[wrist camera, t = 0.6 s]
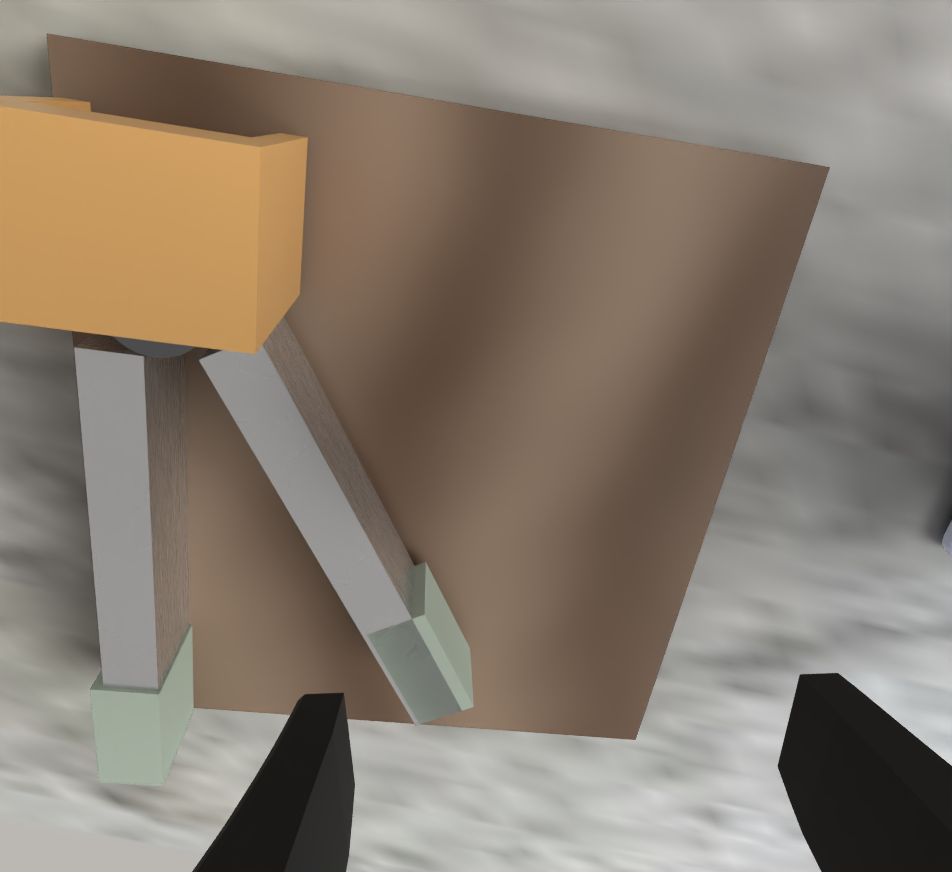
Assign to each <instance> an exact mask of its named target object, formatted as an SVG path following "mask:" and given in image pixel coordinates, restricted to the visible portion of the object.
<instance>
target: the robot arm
mask: <svg viewBox="0 0 952 872" xmlns="http://www.w3.org/2000/svg"><path fill="white" fill-rule="evenodd" d="M942 545H943V548H944V549H945V550H946V551H947V552H948V553H949V554H950V555H951V556H952V520H951V522H950V524H949V526H948V528H947V530H946V532H945V534H944V536H943V540H942ZM778 769H779V771H780V774H781V777H782V780H783V783H784V785H785V788H786V791H787V794H788V797H789V799H790V802H791V805H792V807H793V810H794V813H795V815H796V818H797V820H798V823H799V825H800V828H801V831H802V833H803V835H804V837H805V839H806V841H807V843H808V845H809V848H810V850H811V852H812V854H813V856H814V858H815V860H816V862H817V864H818V866H819V868H820V870H821V871H822V872H952V766H951V765H950V764H949V763H947V762H946V761H945V760H944V759H942V758H941V757H940V756H939V755H938V754H936V753H935V752H934V751H933V750H931V749H930V748H929V747H928V746H926V745H925V744H924V743H923V742H922V741H920V740H919V739H918V738H917V737H916V736H914V735H913V734H912V733H911V732H909V731H908V730H907V729H906V728H905V727H903V726H902V725H901V724H900V723H899V722H897V721H896V720H895V719H894V718H892V717H891V716H890V715H889V714H888V713H886V712H885V711H884V710H883V709H882V708H880V707H879V706H878V705H877V704H876V703H874V702H873V701H872V700H871V699H869V698H868V697H867V696H866V695H865V694H863V693H862V692H861V691H860V690H858V689H857V688H856V687H855V686H854V685H852V684H851V683H850V682H849V681H847V680H846V679H845V678H843V677H842V676H841V675H840V674H838V673H826V674H801V675H800V676H799V680H798V685H797V689H796V693H795V697H794V701H793V705H792V709H791V713H790V717H789V722H788V726H787V730H786V734H785V738H784V742H783V746H782V750H781V754H780V759H779V763H778ZM354 789H355V782H354V773H353V765H352V756H351V748H350V740H349V731H348V723H347V714H346V706H345V697H344V693H319V694H304V695H303V696H302V697H301V698H300V699H299V700H298V701H297V703H296V705H295V707H294V709H293V711H292V713H291V715H290V717H289V719H288V721H287V723H286V724H285V726H284V728H283V730H282V732H281V734H280V736H279V737H278V739H277V741H276V743H275V744H274V746H273V748H272V750H271V751H270V753H269V755H268V757H267V758H266V760H265V762H264V763H263V765H262V767H261V768H260V770H259V772H258V773H257V775H256V777H255V778H254V780H253V781H252V783H251V785H250V786H249V788H248V789H247V791H246V793H245V794H244V796H243V797H242V799H241V800H240V802H239V804H238V805H237V807H236V808H235V810H234V812H233V813H232V815H231V816H230V818H229V819H228V821H227V822H226V824H225V825H224V827H223V828H222V830H221V831H220V833H219V834H218V836H217V837H216V839H215V840H214V841H213V843H212V844H211V846H210V847H209V849H208V850H207V851H206V853H205V854H204V856H203V857H202V859H201V860H200V861H199V863H198V864H197V866H196V867H195V869H194V870H193V871H192V872H346V868H347V863H348V857H349V848H350V837H351V826H352V814H353V802H354Z"/></svg>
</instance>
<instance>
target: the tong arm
mask: <svg viewBox="0 0 952 872" xmlns="http://www.w3.org/2000/svg"><path fill="white" fill-rule="evenodd" d="M199 361H200V363H201V365H202V366H203V368H204V370H205V371H206V373H207V375H208V376H209V378H210V380H211V381H212V383H213V385H214V387H215V388H216V390H217V392H218V393H219V395H220V397H221V398H222V400H223V402H224V403H225V405H226V407H227V408H228V410H229V412H230V413H231V415H232V417H233V419H234V420H235V422H236V424H237V425H238V427H239V429H240V430H241V432H242V434H243V435H244V437H245V439H246V440H247V442H248V444H249V446H250V447H251V449H252V451H253V452H254V454H255V456H256V457H257V459H258V461H259V462H260V464H261V466H262V467H263V469H264V471H265V472H266V474H267V476H268V478H269V479H270V481H271V483H272V484H273V486H274V488H275V489H276V491H277V493H278V494H279V496H280V498H281V499H282V501H283V503H284V505H285V506H286V508H287V510H288V511H289V513H290V515H291V516H292V518H293V520H294V521H295V523H296V525H297V526H298V528H299V530H300V531H301V533H302V535H303V537H304V538H305V540H306V542H307V543H308V545H309V547H310V548H311V550H312V552H313V553H314V555H315V557H316V558H317V560H318V562H319V564H320V565H321V567H322V569H323V570H324V572H325V574H326V575H327V577H328V579H329V580H330V582H331V584H332V585H333V587H334V589H335V590H336V592H337V594H338V596H339V597H340V599H341V601H342V602H343V604H344V606H345V607H346V609H347V611H348V612H349V614H350V616H351V617H352V619H353V621H354V622H355V624H356V626H357V628H358V629H359V631H360V633H361V634H362V636H363V638H364V639H365V641H366V643H367V644H368V646H369V648H370V649H371V651H372V653H373V655H374V656H375V658H376V660H377V661H378V663H379V665H380V666H381V668H382V670H383V671H384V673H385V675H386V676H387V678H388V680H389V681H390V683H391V685H392V687H393V688H394V690H395V692H396V693H397V695H398V697H399V698H400V700H401V702H402V703H403V705H404V707H405V708H406V710H407V712H408V714H409V715H410V717H411V719H412V720H413V722H414V724H415V725H416V726H417V725H420V724H423V723H426V722H429V721H432V720H435V719H438V718H441V717H444V716H447V715H451V714H454V713H457V712H460V711H463V710H466V709H469V708H472V707H474V703H473V686H472V670H471V654H470V647H469V645H468V643H467V641H466V640H465V638H464V636H463V634H462V632H461V630H460V628H459V626H458V624H457V622H456V620H455V618H454V616H453V614H452V612H451V610H450V608H449V606H448V604H447V602H446V600H445V598H444V597H443V595H442V593H441V591H440V589H439V587H438V585H437V583H436V581H435V579H434V577H433V575H432V573H431V571H430V569H429V567H428V565H427V563H426V562H424V563H421V564H419V565H416V566H414V564H413V562H412V560H411V558H410V556H409V554H408V552H407V550H406V548H405V547H404V545H403V543H402V541H401V539H400V537H399V535H398V533H397V531H396V529H395V527H394V525H393V524H392V522H391V520H390V518H389V516H388V514H387V512H386V510H385V508H384V506H383V504H382V502H381V500H380V499H379V497H378V495H377V493H376V491H375V489H374V487H373V485H372V483H371V481H370V479H369V477H368V476H367V474H366V472H365V470H364V468H363V466H362V464H361V462H360V460H359V458H358V456H357V454H356V453H355V451H354V449H353V447H352V445H351V443H350V441H349V439H348V437H347V435H346V433H345V431H344V430H343V428H342V426H341V424H340V422H339V420H338V418H337V416H336V414H335V412H334V410H333V408H332V407H331V405H330V403H329V401H328V399H327V397H326V395H325V393H324V391H323V389H322V387H321V385H320V384H319V382H318V380H317V378H316V376H315V374H314V372H313V370H312V368H311V366H310V364H309V362H308V361H307V359H306V357H305V355H304V353H303V351H302V349H301V347H300V345H299V343H298V341H297V339H296V338H295V336H294V334H293V332H292V330H291V328H290V326H289V324H288V322H287V320H286V318H285V316H283V318H282V319H281V320H280V322H279V323H278V324H277V326H276V327H275V328H274V330H273V331H272V332H271V334H270V335H269V337H268V338H267V339H266V341H265V342H264V343H263V345H262V346H261V347H260V349H259V350H258V351H257V353H256V354H250V353H242V352H234V351H227V350H219V349H211V348H210V349H209V350H208V351H207V352H206V353H205V354H204V355H203V356H202V357H201V358H200V359H199Z"/></svg>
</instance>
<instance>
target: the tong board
mask: <svg viewBox="0 0 952 872" xmlns="http://www.w3.org/2000/svg"><path fill="white" fill-rule="evenodd" d="M47 42H48V54H49V65H50V77H51V88H52V97H60V98H67V99H73V100H80V101H86V102H90V106H91V112H96V113H102V114H109V115H115V116H121V117H127V118H134V119H140V120H146V121H152V122H159V123H165V124H171V125H177V126H184V127H190V128H196V129H202V130H208V131H215V132H221V133H227V134H233V135H240V136H246V137H257V136H264V135H271V134H277V133H284V134H290V135H296V136H302V137H308V143H307V162H306V182H305V202H304V222H303V242H302V261H301V281H300V295H299V296H298V297H297V299H296V300H295V302H294V303H293V304H292V306H291V307H290V308H289V310H288V311H287V312H286V314H285V315H284V316H285V318H286V320H287V322H288V324H289V326H290V328H291V330H292V332H293V334H294V336H295V338H296V339H297V341H298V343H299V345H300V347H301V349H302V351H303V353H304V355H305V357H306V359H307V361H308V362H309V364H310V366H311V368H312V370H313V372H314V374H315V376H316V378H317V380H318V382H319V384H320V385H321V387H322V389H323V391H324V393H325V395H326V397H327V399H328V401H329V403H330V405H331V407H332V408H333V410H334V412H335V414H336V416H337V418H338V420H339V422H340V424H341V426H342V428H343V430H344V431H345V433H346V435H347V437H348V439H349V441H350V443H351V445H352V447H353V449H354V451H355V453H356V454H357V456H358V458H359V460H360V462H361V464H362V466H363V468H364V470H365V472H366V474H367V476H368V477H369V479H370V481H371V483H372V485H373V487H374V489H375V491H376V493H377V495H378V497H379V499H380V500H381V502H382V504H383V506H384V508H385V510H386V512H387V514H388V516H389V518H390V520H391V522H392V524H393V525H394V527H395V529H396V531H397V533H398V535H399V537H400V539H401V541H402V543H403V545H404V547H405V548H406V550H407V552H408V554H409V556H410V558H411V560H412V562H413V564H414V566H416V565H419V564H421V563H424V562H426V563H427V565H428V567H429V569H430V571H431V573H432V575H433V577H434V579H435V581H436V583H437V585H438V587H439V589H440V591H441V593H442V595H443V597H444V598H445V600H446V602H447V604H448V606H449V608H450V610H451V612H452V614H453V616H454V618H455V620H456V622H457V624H458V626H459V628H460V630H461V632H462V634H463V636H464V638H465V640H466V641H467V643H468V645H469V647H470V654H471V670H472V686H473V703H474V707H472V708H469V709H466V710H463V711H460V712H457V713H454V714H451V715H447V716H444V717H441V718H438V719H435V720H432V721H429V722H426V723H423V724H425V725H439V726H452V727H466V728H480V729H494V730H508V731H521V732H535V733H549V734H563V735H577V736H590V737H604V738H618V739H632V740H636V737H637V734H638V731H639V728H640V725H641V722H642V719H643V716H644V713H645V710H646V707H647V704H648V701H649V698H650V695H651V693H652V690H653V687H654V684H655V681H656V678H657V675H658V672H659V669H660V666H661V663H662V660H663V657H664V654H665V651H666V648H667V645H668V642H669V640H670V637H671V634H672V631H673V628H674V625H675V622H676V619H677V616H678V613H679V610H680V607H681V604H682V601H683V598H684V595H685V592H686V589H687V587H688V584H689V581H690V578H691V575H692V572H693V569H694V566H695V563H696V560H697V557H698V554H699V551H700V548H701V545H702V542H703V539H704V536H705V533H706V531H707V528H708V525H709V522H710V519H711V516H712V513H713V510H714V507H715V504H716V501H717V498H718V495H719V492H720V489H721V486H722V483H723V480H724V478H725V475H726V472H727V469H728V466H729V463H730V460H731V457H732V454H733V451H734V448H735V445H736V442H737V439H738V436H739V433H740V430H741V427H742V424H743V422H744V419H745V416H746V413H747V410H748V407H749V404H750V401H751V398H752V395H753V392H754V389H755V386H756V383H757V380H758V377H759V374H760V371H761V369H762V366H763V363H764V360H765V357H766V354H767V351H768V348H769V345H770V342H771V339H772V336H773V333H774V330H775V327H776V324H777V321H778V318H779V316H780V313H781V310H782V307H783V304H784V301H785V298H786V295H787V292H788V289H789V286H790V283H791V280H792V277H793V274H794V271H795V268H796V265H797V262H798V260H799V257H800V254H801V251H802V248H803V245H804V242H805V239H806V236H807V233H808V230H809V227H810V224H811V221H812V218H813V215H814V212H815V209H816V207H817V204H818V201H819V198H820V195H821V192H822V189H823V186H824V183H825V180H826V177H827V174H828V171H829V168H830V167H825V166H819V165H814V164H808V163H802V162H796V161H790V160H784V159H779V158H773V157H767V156H761V155H755V154H749V153H743V152H738V151H732V150H726V149H720V148H714V147H708V146H702V145H697V144H691V143H685V142H679V141H673V140H667V139H661V138H656V137H650V136H644V135H638V134H632V133H626V132H620V131H615V130H609V129H603V128H597V127H591V126H585V125H579V124H574V123H568V122H562V121H556V120H550V119H544V118H539V117H533V116H527V115H521V114H515V113H509V112H503V111H498V110H492V109H486V108H480V107H474V106H468V105H462V104H457V103H451V102H445V101H439V100H433V99H427V98H421V97H416V96H410V95H404V94H398V93H392V92H386V91H380V90H375V89H369V88H363V87H357V86H351V85H345V84H340V83H334V82H328V81H322V80H316V79H310V78H304V77H299V76H293V75H287V74H281V73H275V72H269V71H263V70H258V69H252V68H246V67H240V66H234V65H228V64H222V63H217V62H211V61H205V60H199V59H193V58H187V57H181V56H176V55H170V54H164V53H158V52H152V51H146V50H141V49H135V48H129V47H123V46H117V45H111V44H105V43H100V42H94V41H88V40H82V39H76V38H70V37H64V36H59V35H53V34H47ZM72 332H73V343H74V355H75V366H76V378H77V389H78V401H79V413H80V424H81V436H82V447H83V459H84V471H85V482H86V494H87V505H88V517H89V528H90V540H91V552H92V563H93V575H94V586H95V598H96V609H97V621H98V633H99V644H100V656H101V667H102V670H101V672H100V674H99V675H98V677H97V679H96V680H95V682H94V684H93V685H92V687H91V689H90V696H91V706H92V716H93V727H94V737H95V747H96V758H97V768H98V778H99V782H100V783H116V784H133V785H149V786H163V785H164V782H165V780H166V777H167V775H168V773H169V770H170V768H171V765H172V763H173V760H174V758H175V755H176V753H177V750H178V748H179V745H180V743H181V740H182V738H183V735H184V733H185V731H186V728H187V726H188V723H189V721H190V718H191V716H192V713H193V711H194V708H204V709H218V710H232V711H245V712H259V713H273V714H287V715H291V713H292V711H293V709H294V707H295V705H296V703H297V701H298V700H299V699H300V698H301V697H302V696H303V695H304V694H319V693H344V697H345V706H346V714H347V719H356V720H370V721H383V722H397V723H411V724H414V722H413V720H412V719H411V717H410V715H409V714H408V712H407V710H406V708H405V707H404V705H403V703H402V702H401V700H400V698H399V697H398V695H397V693H396V692H395V690H394V688H393V687H392V685H391V683H390V681H389V680H388V678H387V676H386V675H385V673H384V671H383V670H382V668H381V666H380V665H379V663H378V661H377V660H376V658H375V656H374V655H373V653H372V651H371V649H370V648H369V646H368V644H367V643H366V641H365V639H364V638H363V636H362V634H361V633H360V631H359V629H358V628H357V626H356V624H355V622H354V621H353V619H352V617H351V616H350V614H349V612H348V611H347V609H346V607H345V606H344V604H343V602H342V601H341V599H340V597H339V596H338V594H337V592H336V590H335V589H334V587H333V585H332V584H331V582H330V580H329V579H328V577H327V575H326V574H325V572H324V570H323V569H322V567H321V565H320V564H319V562H318V560H317V558H316V557H315V555H314V553H313V552H312V550H311V548H310V547H309V545H308V543H307V542H306V540H305V538H304V537H303V535H302V533H301V531H300V530H299V528H298V526H297V525H296V523H295V521H294V520H293V518H292V516H291V515H290V513H289V511H288V510H287V508H286V506H285V505H284V503H283V501H282V499H281V498H280V496H279V494H278V493H277V491H276V489H275V488H274V486H273V484H272V483H271V481H270V479H269V478H268V476H267V474H266V472H265V471H264V469H263V467H262V466H261V464H260V462H259V461H258V459H257V457H256V456H255V454H254V452H253V451H252V449H251V447H250V446H249V444H248V442H247V440H246V439H245V437H244V435H243V434H242V432H241V430H240V429H239V427H238V425H237V424H236V422H235V420H234V419H233V417H232V415H231V413H230V412H229V410H228V408H227V407H226V405H225V403H224V402H223V400H222V398H221V397H220V395H219V393H218V392H217V390H216V388H215V387H214V385H213V383H212V381H211V380H210V378H209V376H208V375H207V373H206V371H205V370H204V368H203V366H202V365H201V363H200V361H199V359H200V358H201V357H202V356H203V355H204V354H205V353H206V352H207V351H208V350H209V349H210V348H203V347H195V346H187V345H179V344H171V343H164V342H156V341H148V340H140V339H132V338H124V337H116V336H109V335H101V334H93V333H85V332H77V331H72Z"/></svg>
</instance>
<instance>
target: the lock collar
mask: <svg viewBox="0 0 952 872" xmlns="http://www.w3.org/2000/svg"><path fill="white" fill-rule="evenodd" d="M307 143H308V137H302V136H296V135H290V134H284V133H277V134H271V135H264V136H257V137H246V136H240V135H233V134H227V133H221V132H215V131H208V130H202V129H196V128H190V127H184V126H177V125H171V124H165V123H159V122H152V121H146V120H140V119H134V118H127V117H121V116H115V115H109V114H102V113H96V112H91V106H90V102H86V101H80V100H73V99H67V98H60V97H30V96H0V322H6V323H14V324H22V325H30V326H38V327H46V328H54V329H61V330H69V331H77V332H85V333H93V334H101V335H109V336H116V337H124V338H132V339H140V340H148V341H156V342H164V343H171V344H179V345H187V346H195V347H203V348H211V349H219V350H227V351H234V352H242V353H250V354H256V353H257V351H258V350H259V349H260V347H261V346H262V345H263V343H264V342H265V341H266V339H267V338H268V337H269V335H270V334H271V332H272V331H273V330H274V328H275V327H276V326H277V324H278V323H279V322H280V320H281V319H282V318H283V316H284V315H285V314H286V312H287V311H288V310H289V308H290V307H291V306H292V304H293V303H294V302H295V300H296V299H297V297H298V296H299V295H300V281H301V261H302V242H303V222H304V202H305V182H306V162H307Z"/></svg>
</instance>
